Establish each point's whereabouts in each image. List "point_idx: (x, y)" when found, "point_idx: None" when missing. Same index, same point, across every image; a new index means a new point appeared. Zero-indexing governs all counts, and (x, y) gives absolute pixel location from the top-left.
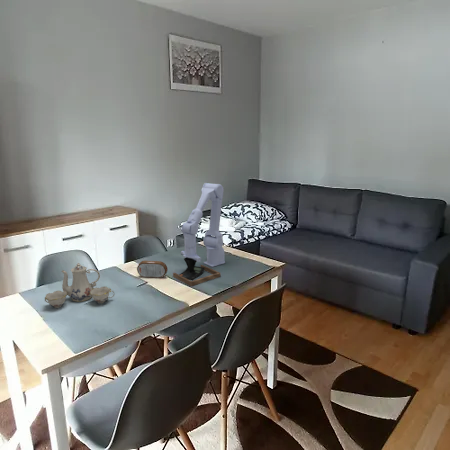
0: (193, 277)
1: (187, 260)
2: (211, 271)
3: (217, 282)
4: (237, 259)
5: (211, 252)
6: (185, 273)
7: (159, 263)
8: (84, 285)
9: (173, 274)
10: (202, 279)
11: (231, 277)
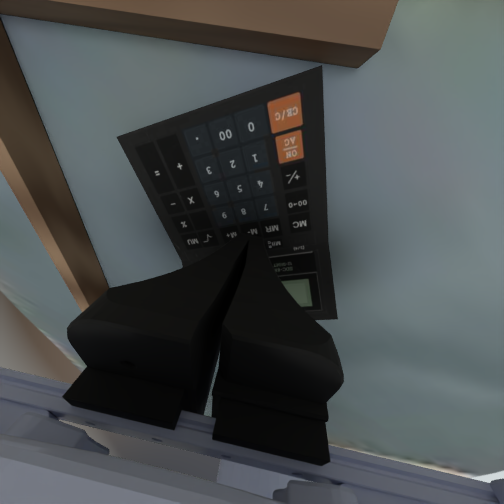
0: (153, 180)
1: (137, 315)
2: None
3: (23, 231)
4: None
5: (238, 472)
6: (283, 204)
7: None
8: None
9: (375, 5)
10: (10, 167)
11: (73, 310)
